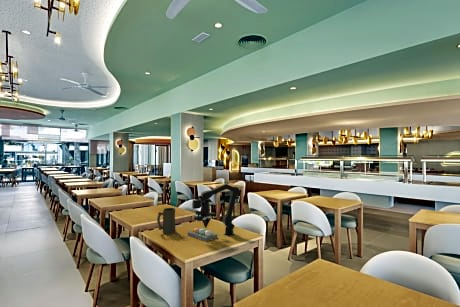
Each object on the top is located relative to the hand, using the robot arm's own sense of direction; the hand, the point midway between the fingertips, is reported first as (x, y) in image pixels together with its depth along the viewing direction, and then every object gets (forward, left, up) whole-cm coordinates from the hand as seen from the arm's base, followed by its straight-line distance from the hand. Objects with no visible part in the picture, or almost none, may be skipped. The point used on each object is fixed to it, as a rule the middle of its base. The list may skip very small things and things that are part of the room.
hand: (205, 227), depth 196 cm
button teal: (0, -4, -6) cm, 7 cm away
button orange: (0, -11, -7) cm, 13 cm away
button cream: (0, +3, -6) cm, 7 cm away
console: (0, -4, -8) cm, 9 cm away
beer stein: (+14, -33, -8) cm, 37 cm away
